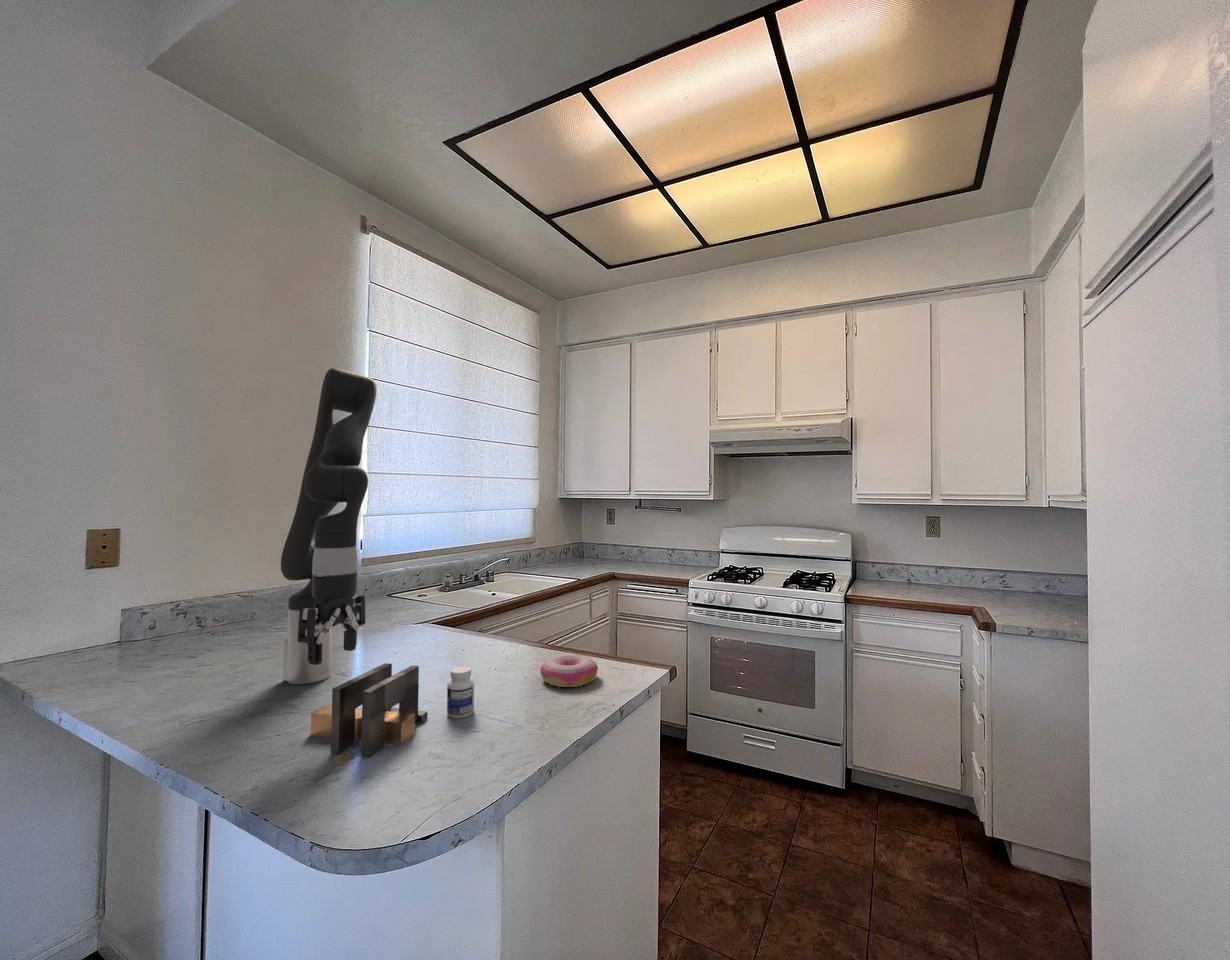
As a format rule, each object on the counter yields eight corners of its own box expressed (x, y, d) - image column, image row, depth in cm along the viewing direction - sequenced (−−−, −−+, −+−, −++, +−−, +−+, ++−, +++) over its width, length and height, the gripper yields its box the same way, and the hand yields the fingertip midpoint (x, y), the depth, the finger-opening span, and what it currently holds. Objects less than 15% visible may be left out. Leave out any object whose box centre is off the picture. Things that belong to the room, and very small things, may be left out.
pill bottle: (450, 708, 108) (450, 665, 109) (476, 707, 109) (476, 664, 109) (444, 719, 103) (444, 674, 103) (471, 718, 104) (471, 673, 104)
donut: (529, 685, 122) (529, 663, 122) (559, 668, 134) (559, 648, 134) (579, 695, 116) (579, 672, 117) (606, 676, 129) (606, 656, 129)
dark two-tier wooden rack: (313, 761, 87) (314, 694, 87) (387, 714, 105) (388, 659, 106) (360, 768, 85) (361, 699, 85) (427, 719, 103) (428, 663, 104)
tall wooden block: (310, 734, 96) (311, 712, 97) (327, 725, 100) (327, 704, 101) (401, 746, 92) (401, 723, 92) (414, 736, 96) (415, 713, 96)
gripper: (345, 564, 106) (343, 644, 106) (287, 575, 92) (284, 667, 92) (377, 566, 105) (375, 647, 104) (322, 577, 91) (320, 671, 90)
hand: (333, 656), depth 98 cm, fingers open, 8 cm apart
